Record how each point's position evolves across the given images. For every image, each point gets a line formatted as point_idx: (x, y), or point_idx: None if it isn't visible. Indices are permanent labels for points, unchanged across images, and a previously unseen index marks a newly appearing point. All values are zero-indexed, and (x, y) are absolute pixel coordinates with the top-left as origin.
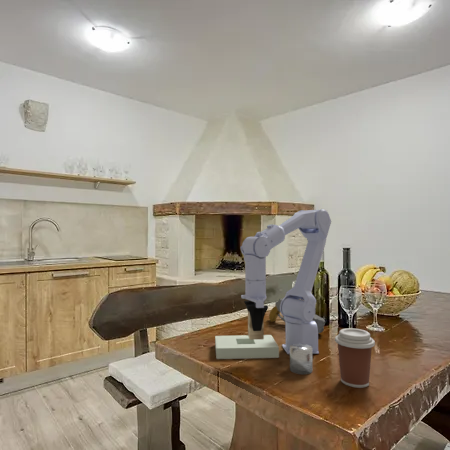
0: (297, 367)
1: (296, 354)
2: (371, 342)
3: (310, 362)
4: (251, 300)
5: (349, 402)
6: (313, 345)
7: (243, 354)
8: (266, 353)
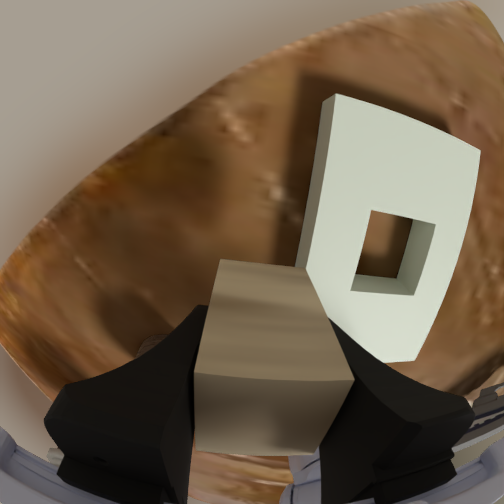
0: (137, 353)
1: None
2: None
3: None
4: (39, 500)
5: (35, 358)
6: None
7: (308, 217)
8: None
